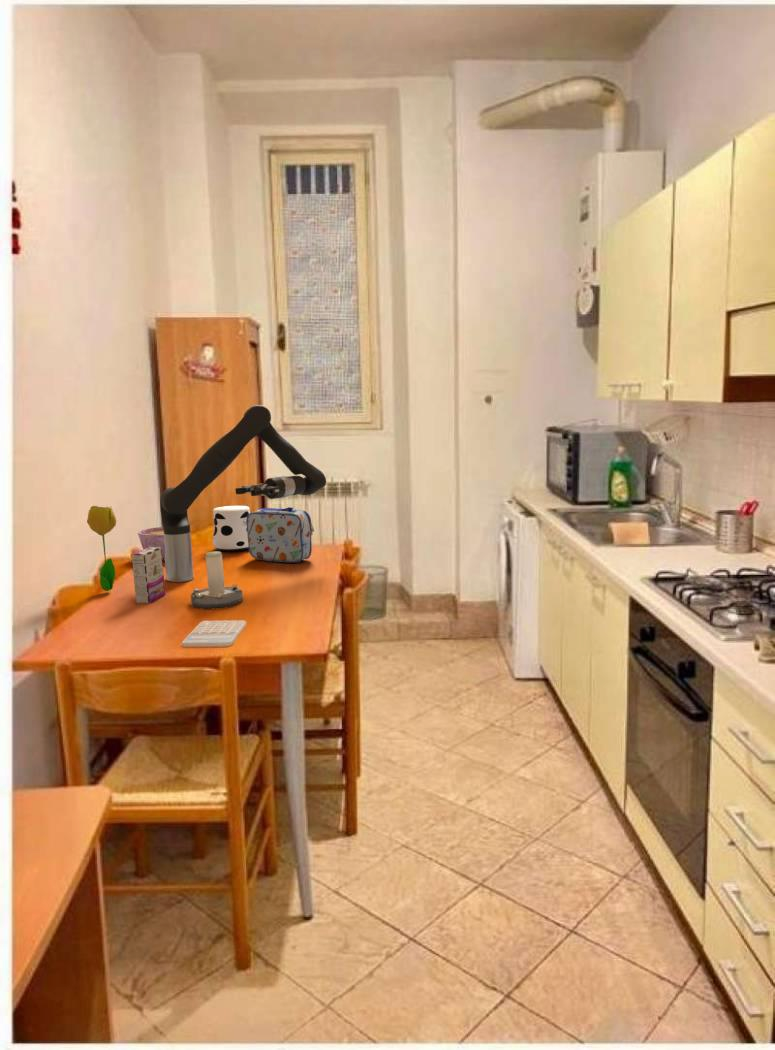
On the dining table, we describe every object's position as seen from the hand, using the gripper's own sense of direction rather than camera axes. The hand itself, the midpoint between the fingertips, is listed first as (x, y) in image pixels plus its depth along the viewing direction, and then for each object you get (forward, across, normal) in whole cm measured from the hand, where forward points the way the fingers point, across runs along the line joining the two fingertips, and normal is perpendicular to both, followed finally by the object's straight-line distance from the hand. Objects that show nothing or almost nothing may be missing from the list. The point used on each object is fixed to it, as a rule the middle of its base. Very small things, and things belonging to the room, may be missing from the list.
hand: (243, 492), depth 264 cm
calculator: (+44, +41, +33) cm, 69 cm away
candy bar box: (+34, -8, +32) cm, 47 cm away
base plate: (+23, +13, +32) cm, 41 cm away
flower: (+38, -28, +32) cm, 57 cm away
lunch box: (-31, -18, +32) cm, 48 cm away
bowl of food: (-6, -62, +32) cm, 70 cm away
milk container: (-34, -53, +32) cm, 71 cm away
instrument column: (+23, +13, +29) cm, 39 cm away
